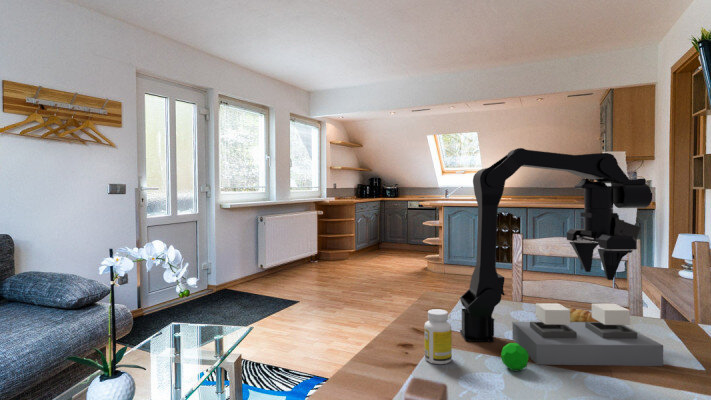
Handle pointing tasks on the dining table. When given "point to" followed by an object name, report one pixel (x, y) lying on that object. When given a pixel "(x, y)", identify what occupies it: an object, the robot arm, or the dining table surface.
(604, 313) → the button
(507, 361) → the polyhedron
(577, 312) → the pastry
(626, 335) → the panel
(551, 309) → the button
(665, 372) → the dining table surface
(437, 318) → the supplement bottle
